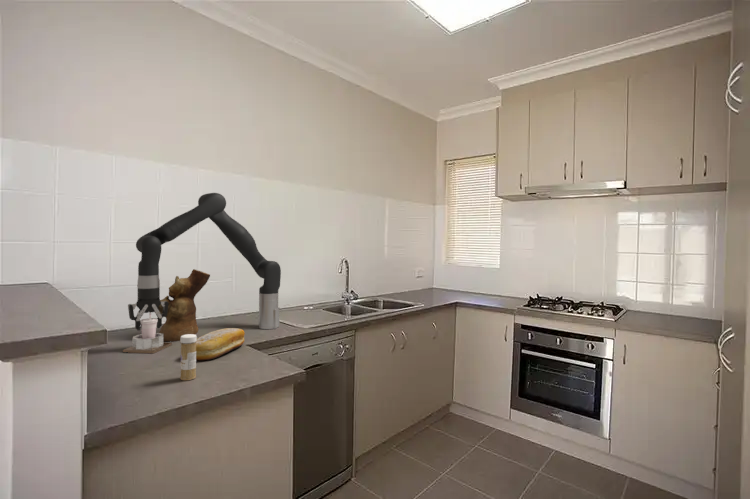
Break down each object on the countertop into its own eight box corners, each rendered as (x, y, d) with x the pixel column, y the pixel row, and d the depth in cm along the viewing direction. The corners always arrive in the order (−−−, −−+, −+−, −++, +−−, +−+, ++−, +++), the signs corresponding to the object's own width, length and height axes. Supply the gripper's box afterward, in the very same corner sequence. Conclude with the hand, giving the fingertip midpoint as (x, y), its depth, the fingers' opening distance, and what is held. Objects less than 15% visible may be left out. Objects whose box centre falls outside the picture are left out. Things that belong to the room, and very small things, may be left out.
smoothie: (157, 345, 151) (157, 309, 151) (138, 347, 148) (138, 310, 148) (158, 341, 157) (158, 307, 157) (140, 343, 154) (139, 308, 154)
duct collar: (171, 345, 158) (171, 332, 158) (153, 353, 146) (153, 340, 146) (143, 344, 159) (143, 332, 159) (122, 352, 147) (122, 339, 147)
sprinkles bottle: (177, 378, 120) (177, 335, 120) (192, 374, 124) (192, 332, 123) (184, 382, 117) (184, 337, 117) (199, 378, 121) (199, 335, 120)
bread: (250, 344, 162) (250, 325, 162) (214, 363, 136) (214, 341, 136) (221, 342, 164) (221, 323, 164) (179, 361, 138) (179, 339, 138)
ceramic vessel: (156, 335, 174) (156, 268, 174) (208, 330, 184) (209, 267, 184) (154, 343, 160) (154, 271, 160) (211, 338, 170) (211, 270, 170)
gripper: (129, 288, 145) (129, 333, 145) (171, 286, 154) (171, 328, 155) (125, 287, 150) (125, 330, 151) (166, 284, 160) (166, 324, 160)
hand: (148, 328), depth 153 cm, fingers closed on smoothie, 6 cm apart
